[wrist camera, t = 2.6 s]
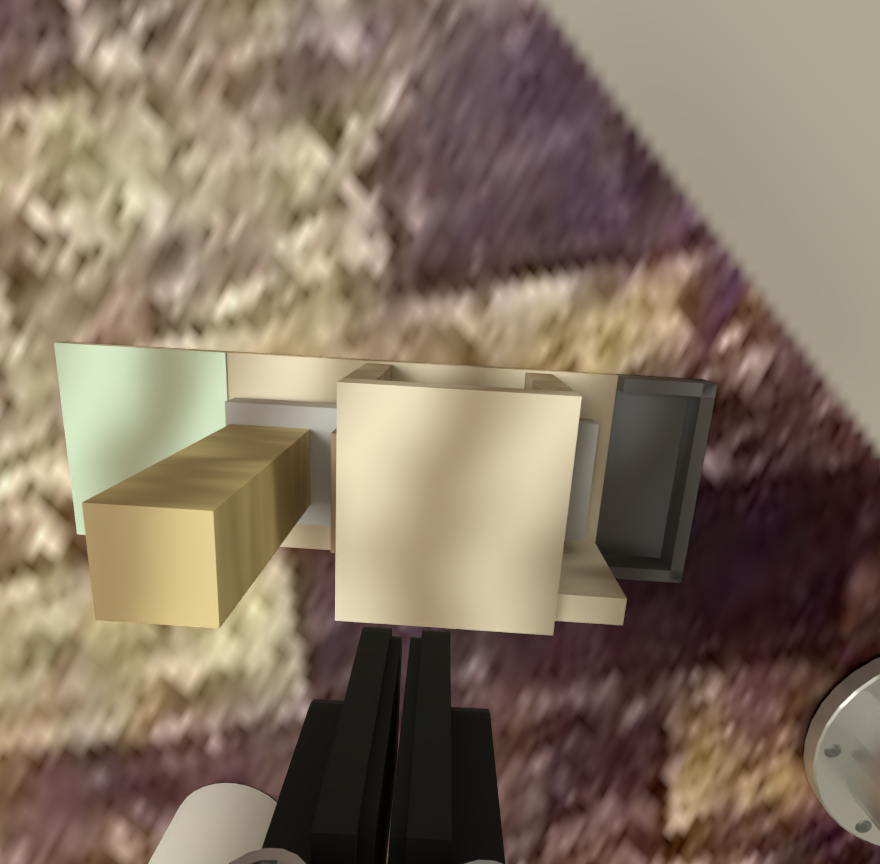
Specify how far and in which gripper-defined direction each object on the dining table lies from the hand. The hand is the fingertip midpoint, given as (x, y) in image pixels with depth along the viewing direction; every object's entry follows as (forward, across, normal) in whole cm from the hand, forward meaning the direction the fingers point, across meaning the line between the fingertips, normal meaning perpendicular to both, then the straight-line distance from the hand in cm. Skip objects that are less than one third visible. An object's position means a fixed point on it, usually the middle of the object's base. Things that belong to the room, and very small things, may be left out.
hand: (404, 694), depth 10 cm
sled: (+15, +1, 0) cm, 15 cm away
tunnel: (+16, +2, 0) cm, 16 cm away
